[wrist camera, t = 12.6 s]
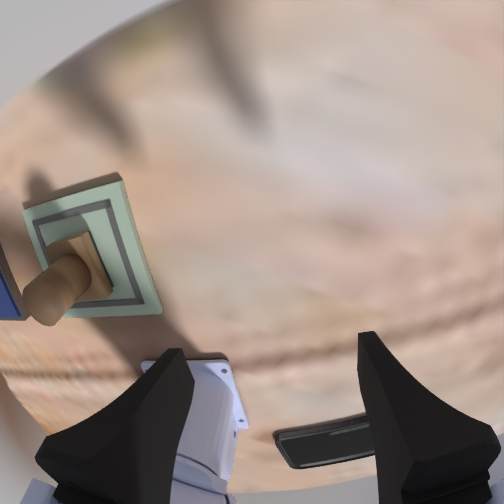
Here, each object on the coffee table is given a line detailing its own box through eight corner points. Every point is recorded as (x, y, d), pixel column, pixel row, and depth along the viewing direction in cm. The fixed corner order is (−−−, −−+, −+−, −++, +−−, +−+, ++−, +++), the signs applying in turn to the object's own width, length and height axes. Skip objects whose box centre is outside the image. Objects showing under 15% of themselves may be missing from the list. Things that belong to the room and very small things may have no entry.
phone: (418, 442, 28) (292, 470, 31) (416, 435, 29) (292, 463, 32) (421, 405, 25) (272, 439, 28) (418, 397, 26) (272, 430, 29)
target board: (163, 309, 24) (160, 314, 23) (67, 314, 25) (63, 318, 25) (122, 179, 20) (117, 182, 19) (25, 208, 21) (20, 211, 21)
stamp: (116, 287, 23) (76, 336, 17) (80, 293, 23) (40, 338, 18) (91, 228, 21) (40, 266, 15) (56, 239, 21) (6, 276, 16)
